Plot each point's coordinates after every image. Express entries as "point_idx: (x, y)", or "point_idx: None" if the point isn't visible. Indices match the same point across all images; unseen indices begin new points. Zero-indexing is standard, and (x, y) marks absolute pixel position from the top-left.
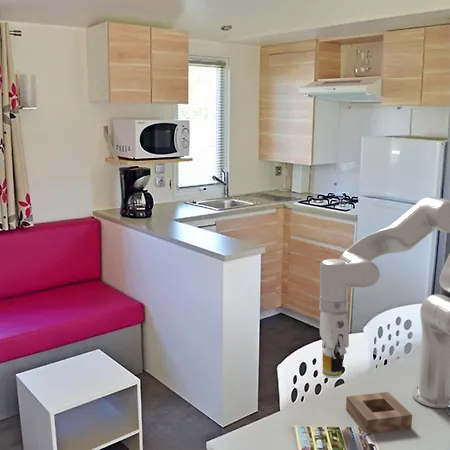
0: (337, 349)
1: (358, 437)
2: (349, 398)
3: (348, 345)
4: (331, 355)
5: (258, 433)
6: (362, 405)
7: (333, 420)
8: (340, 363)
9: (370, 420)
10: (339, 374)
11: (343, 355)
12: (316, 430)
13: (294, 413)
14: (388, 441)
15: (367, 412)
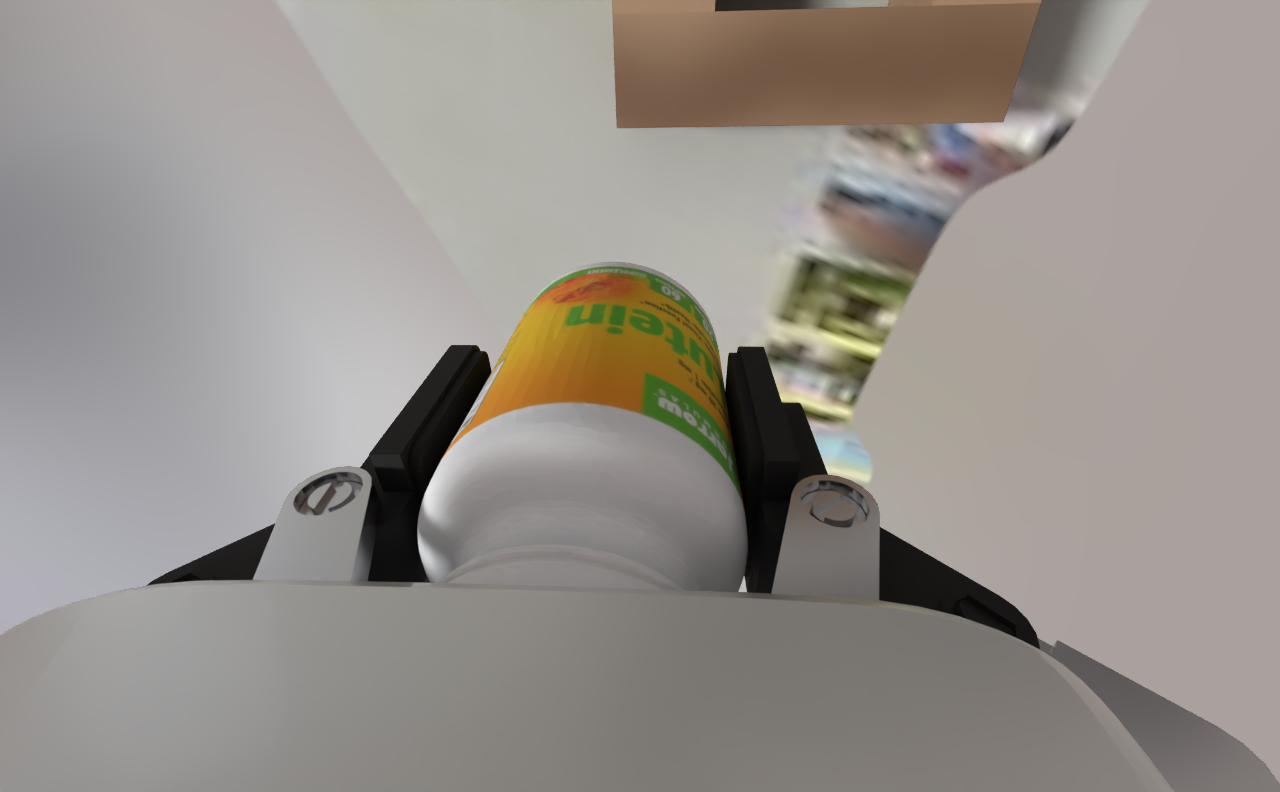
0: (685, 587)
1: (952, 186)
2: (652, 116)
3: (1109, 709)
4: None
5: None
6: (791, 50)
7: (731, 258)
8: (815, 455)
9: (1009, 90)
10: (713, 333)
11: (993, 599)
12: (793, 378)
13: None
14: None
15: (906, 59)
